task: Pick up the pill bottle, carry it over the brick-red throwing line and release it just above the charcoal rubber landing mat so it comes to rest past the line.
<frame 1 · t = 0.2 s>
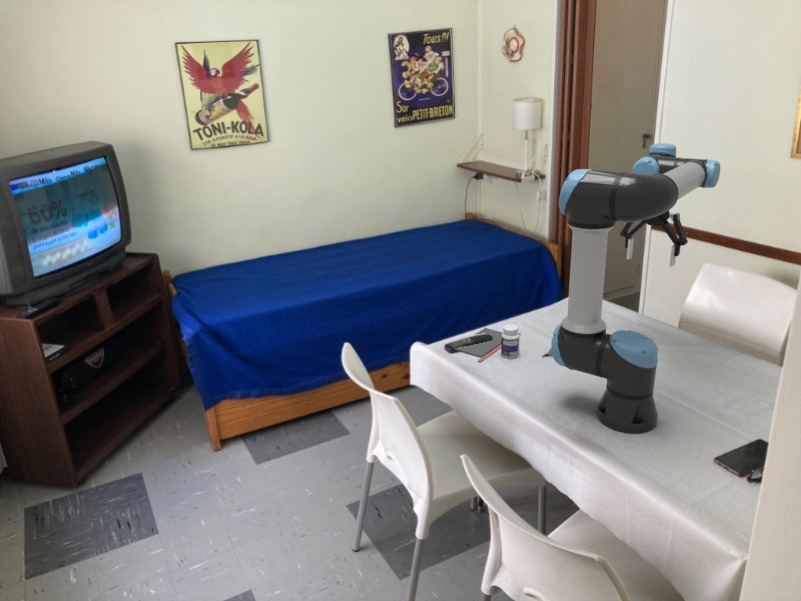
hand: (650, 261, 205), 28 cm above the table, fingers open, 13 cm apart
landing mat: (483, 342, 218), on the table
pill bottle: (509, 355, 209), on the table
cloth: (573, 349, 213), on the table
throw line: (500, 347, 214), on the table
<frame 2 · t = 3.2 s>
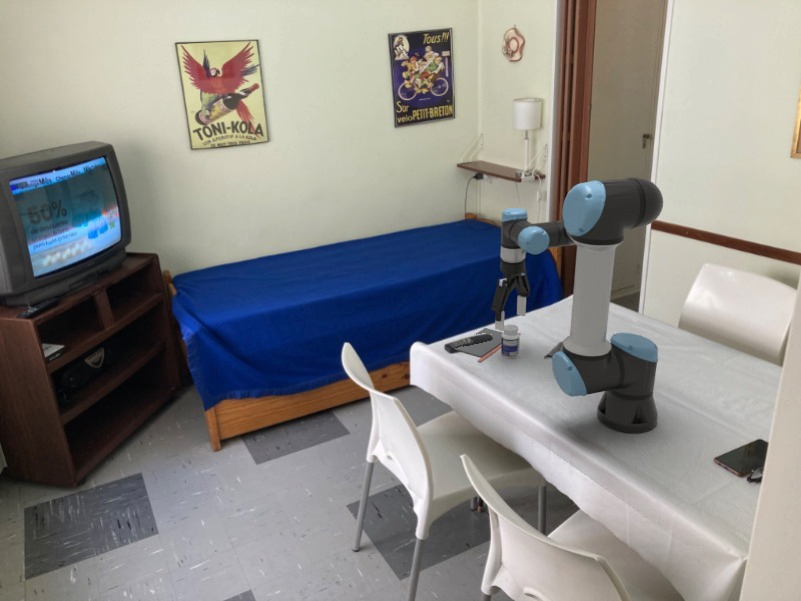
hand: (510, 322, 205), 11 cm above the table, fingers open, 13 cm apart
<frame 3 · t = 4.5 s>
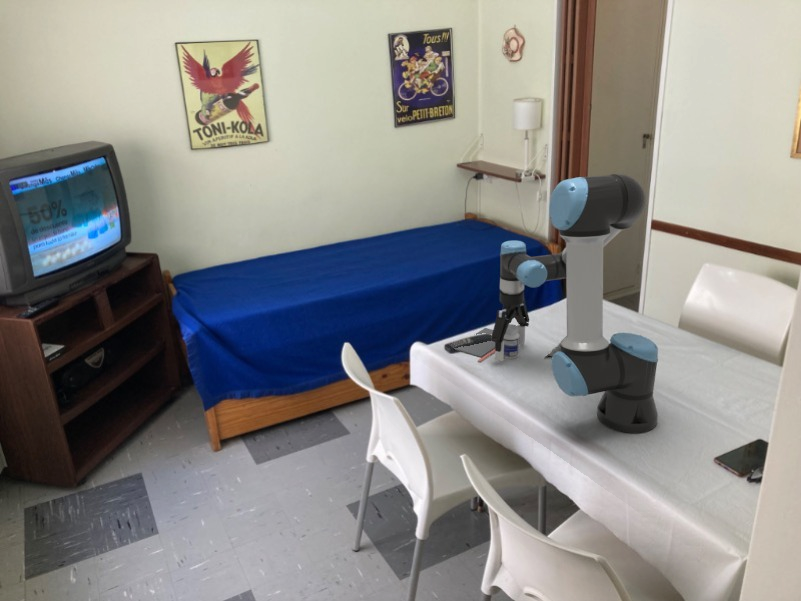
hand: (510, 351, 208), 1 cm above the table, fingers open, 13 cm apart
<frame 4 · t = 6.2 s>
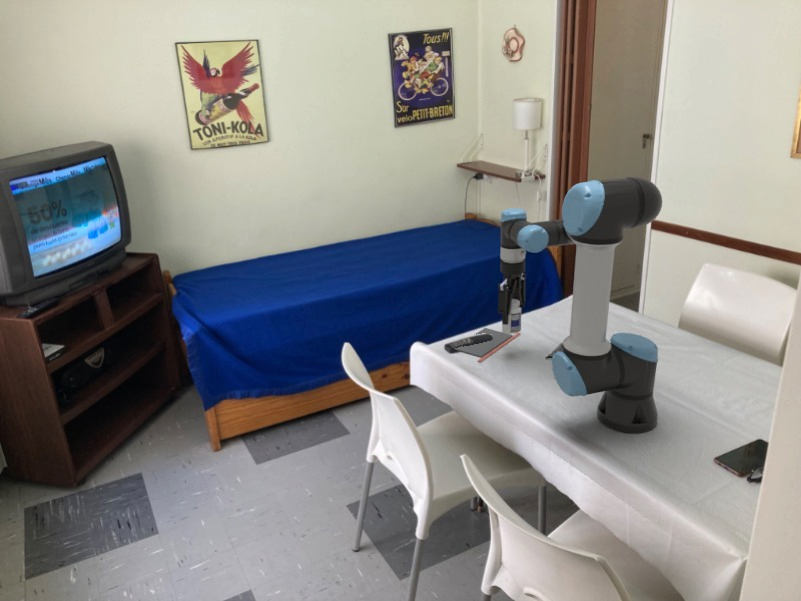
hand: (511, 329, 205), 9 cm above the table, fingers closed on pill bottle, 6 cm apart
pill bottle: (511, 331, 205), point 9 cm above the table, touching gripper
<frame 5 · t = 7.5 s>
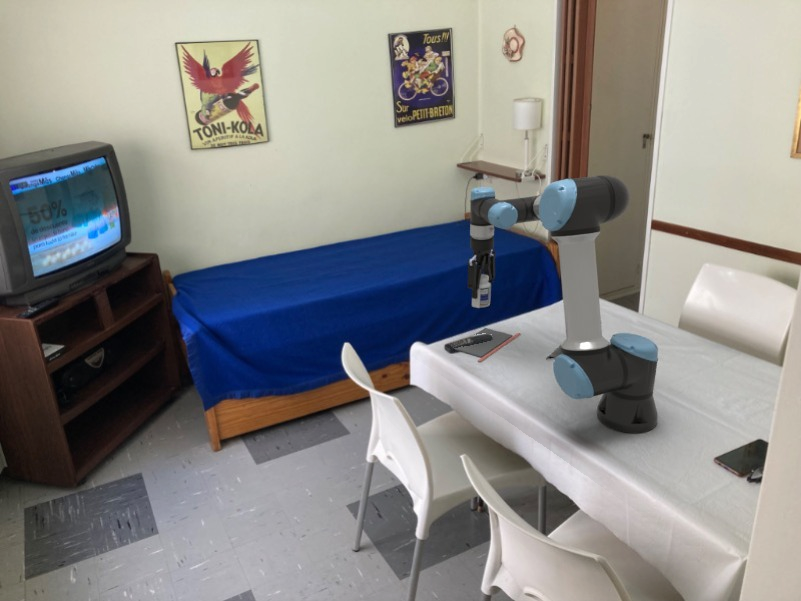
hand: (481, 303, 214), 14 cm above the table, fingers closed on pill bottle, 6 cm apart
pill bottle: (481, 305, 214), point 14 cm above the table, touching gripper
when the fingers open (2 cm above the table, at t = 9.4 s): pill bottle stays where it is, resting on landing mat.
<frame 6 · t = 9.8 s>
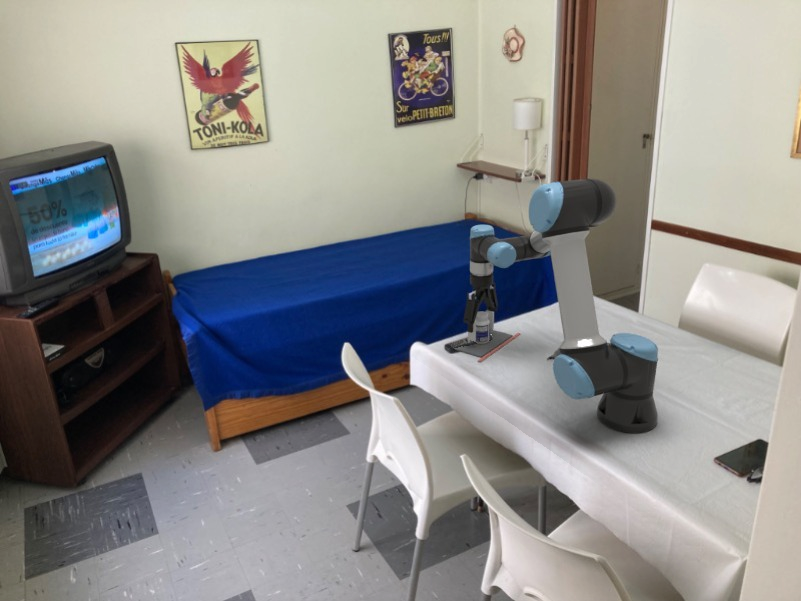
hand: (480, 334, 218), 3 cm above the table, fingers open, 10 cm apart
pill bottle: (480, 341, 219), resting on landing mat
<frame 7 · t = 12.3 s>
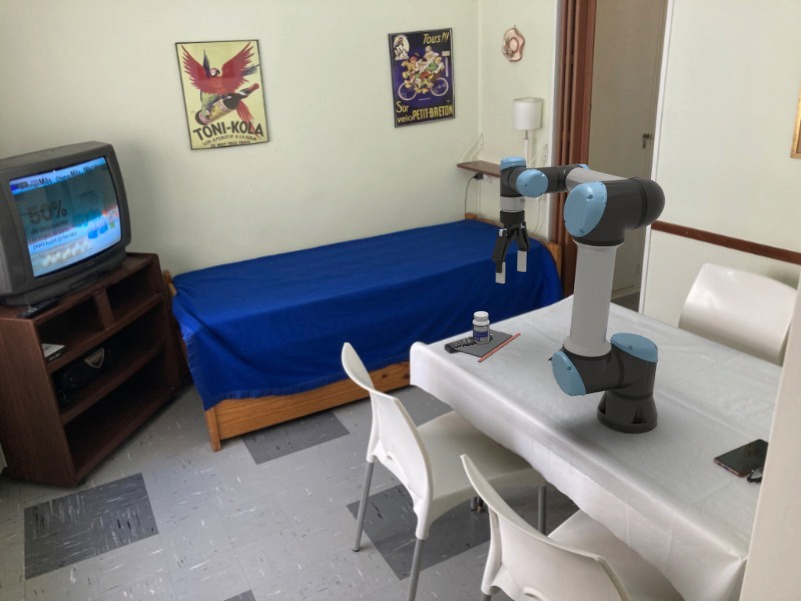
hand: (511, 276, 201), 26 cm above the table, fingers open, 13 cm apart
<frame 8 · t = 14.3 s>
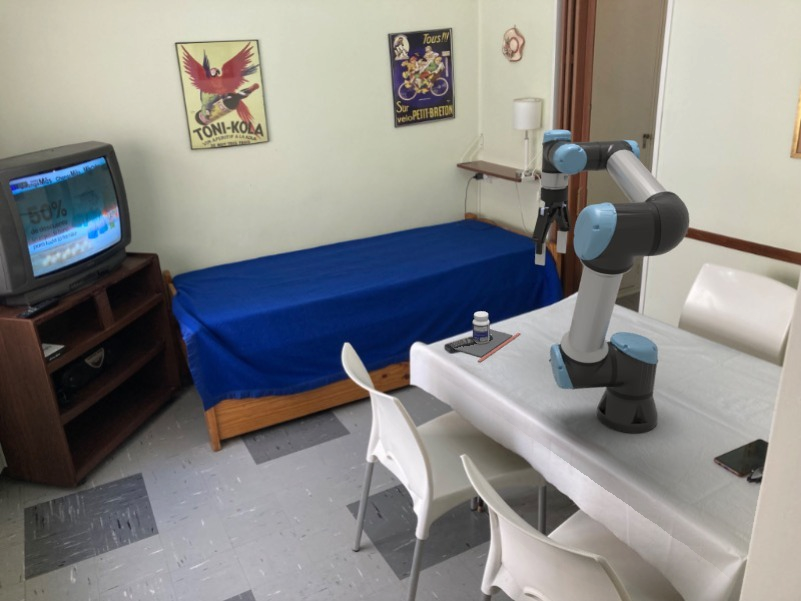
hand: (550, 258, 190), 35 cm above the table, fingers open, 13 cm apart
at the end: pill bottle inside the target area (1.4 cm from its centre), resting on landing mat; pill bottle tilted 0°; the gripper is holding nothing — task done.
